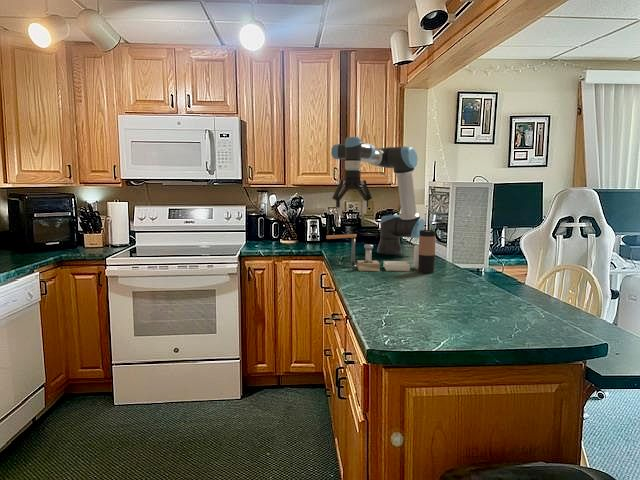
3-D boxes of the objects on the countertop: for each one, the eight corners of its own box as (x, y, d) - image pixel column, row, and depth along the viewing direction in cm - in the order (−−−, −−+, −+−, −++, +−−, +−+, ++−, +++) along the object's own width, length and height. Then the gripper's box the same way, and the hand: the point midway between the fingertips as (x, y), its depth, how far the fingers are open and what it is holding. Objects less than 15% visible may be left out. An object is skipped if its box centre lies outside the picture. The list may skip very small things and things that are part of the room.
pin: (363, 268, 236) (363, 244, 235) (372, 268, 236) (372, 244, 235) (364, 269, 232) (364, 245, 230) (373, 269, 232) (373, 245, 230)
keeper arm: (354, 236, 241) (354, 233, 241) (357, 237, 239) (357, 234, 239) (325, 238, 232) (325, 235, 232) (328, 239, 229) (328, 236, 229)
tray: (383, 266, 241) (383, 261, 240) (405, 267, 241) (405, 261, 240) (386, 270, 229) (386, 264, 229) (409, 271, 229) (409, 265, 229)
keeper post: (348, 265, 243) (349, 237, 241) (356, 265, 243) (357, 237, 241) (349, 267, 239) (349, 238, 237) (357, 267, 239) (357, 238, 237)
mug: (421, 270, 232) (422, 247, 231) (409, 267, 240) (410, 245, 238) (439, 268, 238) (440, 246, 237) (427, 265, 246) (428, 244, 245)
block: (357, 267, 239) (357, 260, 238) (377, 267, 239) (377, 260, 239) (358, 270, 229) (359, 263, 229) (379, 271, 229) (379, 263, 229)
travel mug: (415, 272, 226) (417, 230, 223) (420, 270, 232) (421, 229, 230) (431, 274, 222) (433, 231, 220) (436, 271, 229) (437, 230, 226)
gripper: (332, 169, 219) (332, 215, 222) (379, 170, 229) (378, 214, 232) (325, 169, 226) (325, 214, 229) (371, 170, 236) (370, 213, 239)
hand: (352, 214), depth 230 cm, fingers open, 13 cm apart
